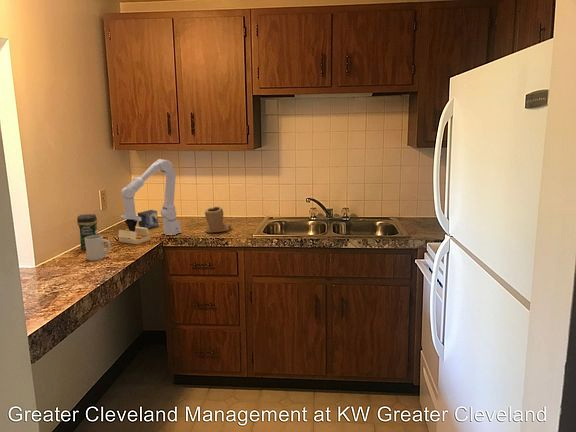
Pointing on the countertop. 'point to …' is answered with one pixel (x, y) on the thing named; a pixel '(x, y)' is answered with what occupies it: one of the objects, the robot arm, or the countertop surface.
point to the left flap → (127, 234)
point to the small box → (148, 219)
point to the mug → (96, 247)
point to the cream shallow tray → (135, 241)
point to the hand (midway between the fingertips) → (132, 232)
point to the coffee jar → (87, 227)
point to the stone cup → (216, 220)
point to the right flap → (142, 230)
